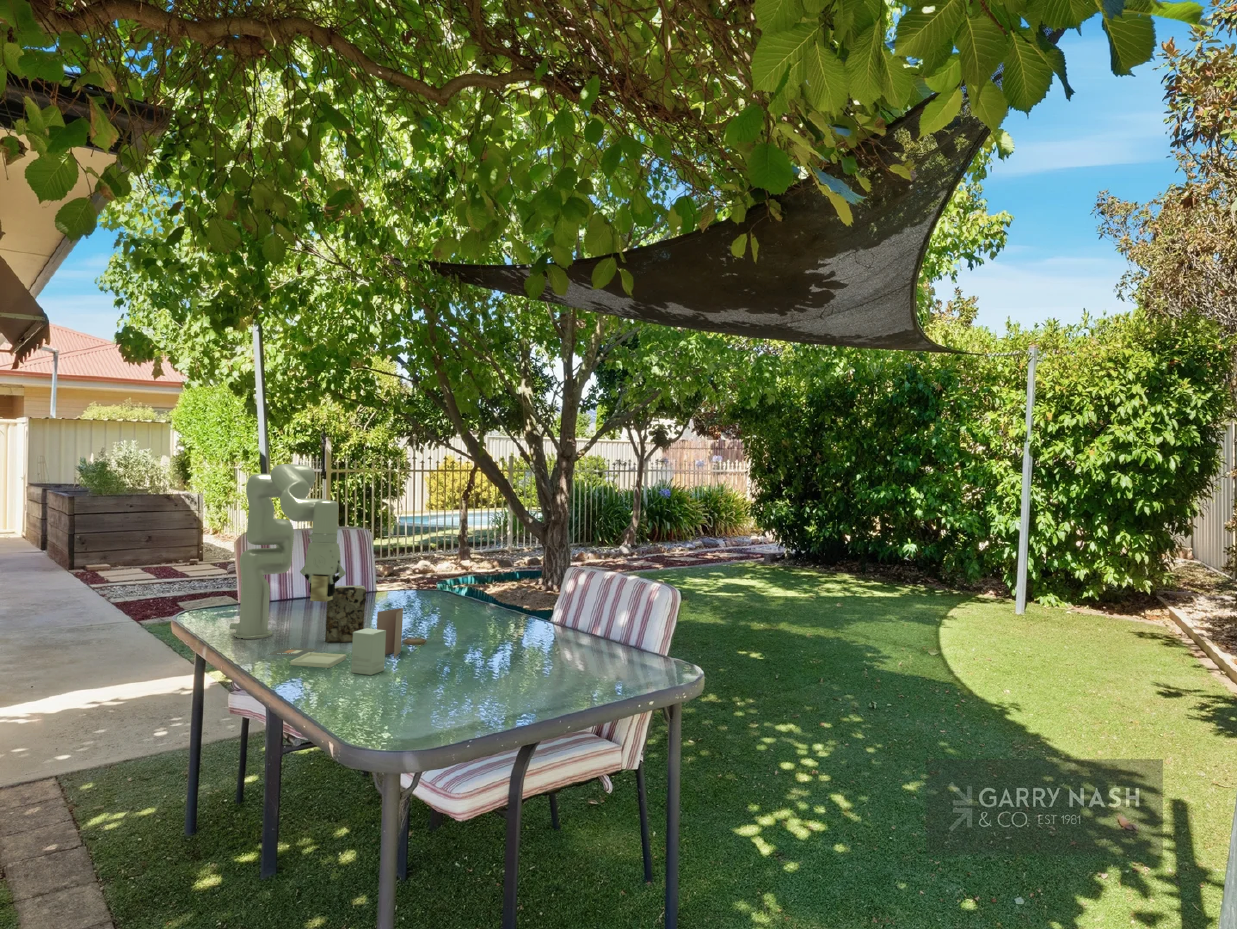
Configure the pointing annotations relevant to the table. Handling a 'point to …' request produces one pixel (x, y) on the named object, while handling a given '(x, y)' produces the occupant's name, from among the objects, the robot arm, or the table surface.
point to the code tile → (292, 651)
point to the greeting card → (391, 629)
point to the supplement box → (368, 651)
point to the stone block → (345, 613)
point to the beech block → (320, 588)
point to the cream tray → (318, 660)
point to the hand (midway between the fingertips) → (321, 595)
